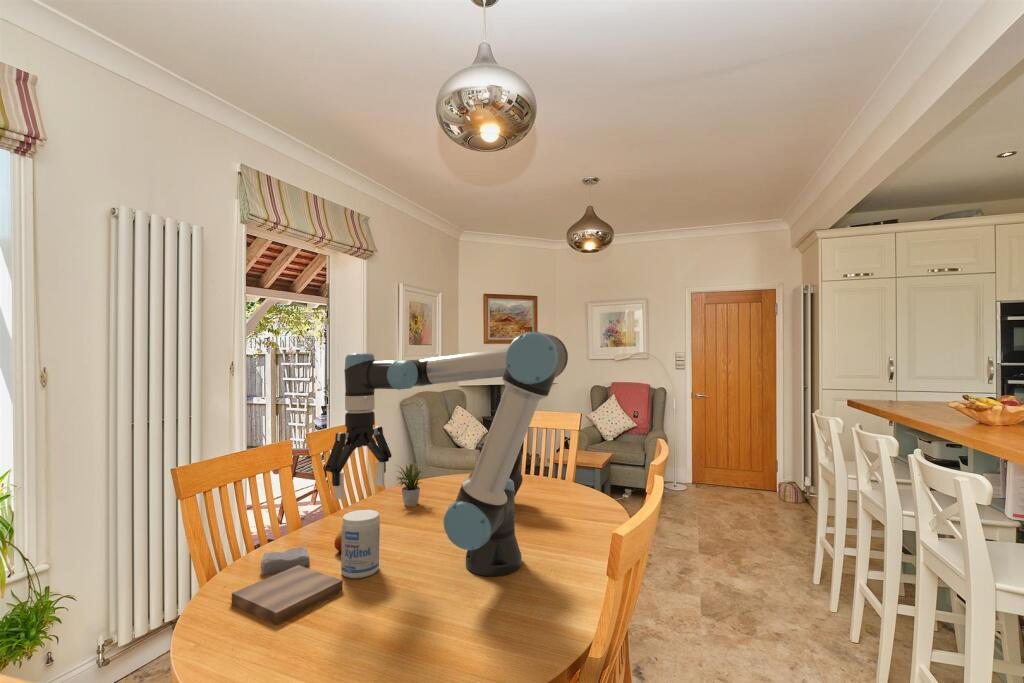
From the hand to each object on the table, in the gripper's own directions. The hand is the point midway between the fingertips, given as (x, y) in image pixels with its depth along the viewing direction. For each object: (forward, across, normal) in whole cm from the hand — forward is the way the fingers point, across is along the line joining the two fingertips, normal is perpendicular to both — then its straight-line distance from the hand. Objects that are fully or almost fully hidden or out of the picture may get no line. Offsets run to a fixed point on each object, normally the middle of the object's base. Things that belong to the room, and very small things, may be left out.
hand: (360, 491), depth 127 cm
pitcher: (+21, -63, +2) cm, 66 cm away
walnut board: (+20, +18, -4) cm, 28 cm away
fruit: (+21, -8, -14) cm, 26 cm away
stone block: (+21, +8, -21) cm, 31 cm away
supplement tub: (+21, 0, 0) cm, 21 cm away
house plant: (+21, -49, -30) cm, 61 cm away
